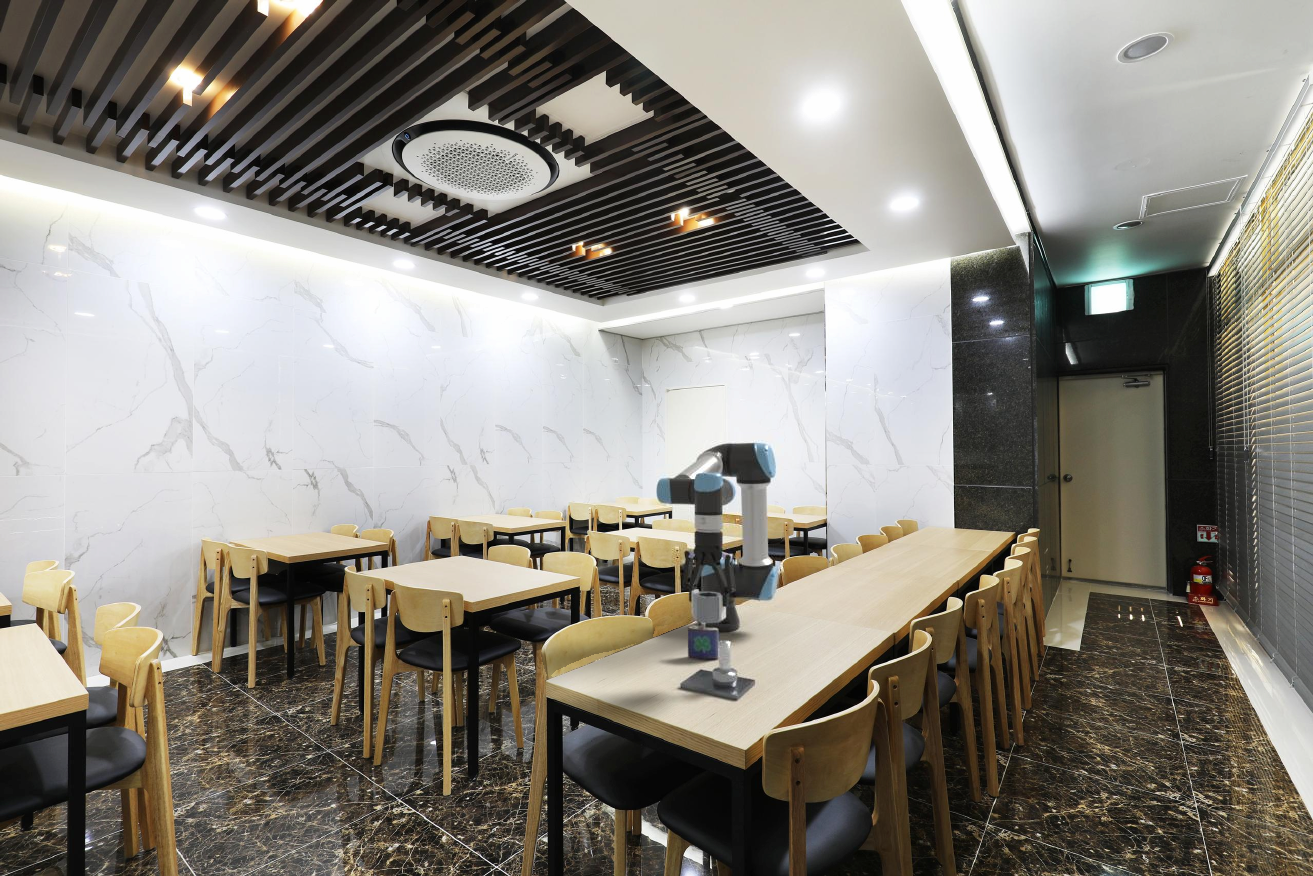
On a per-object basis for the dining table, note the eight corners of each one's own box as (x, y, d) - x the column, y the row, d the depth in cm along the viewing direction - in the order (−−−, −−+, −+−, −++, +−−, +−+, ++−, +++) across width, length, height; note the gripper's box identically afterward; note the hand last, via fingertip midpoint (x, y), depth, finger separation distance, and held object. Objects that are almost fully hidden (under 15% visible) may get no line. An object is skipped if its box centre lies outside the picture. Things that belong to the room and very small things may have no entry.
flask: (719, 657, 184) (718, 621, 184) (717, 661, 181) (717, 624, 181) (688, 655, 186) (688, 620, 186) (687, 659, 183) (686, 622, 183)
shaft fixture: (700, 673, 171) (700, 630, 171) (755, 684, 163) (754, 638, 163) (680, 688, 160) (680, 641, 161) (737, 700, 152) (737, 651, 153)
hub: (702, 614, 169) (702, 590, 169) (726, 618, 165) (726, 593, 165) (689, 620, 163) (689, 595, 163) (714, 624, 159) (714, 599, 159)
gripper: (668, 529, 167) (668, 614, 166) (737, 534, 156) (737, 625, 155) (682, 526, 173) (682, 608, 173) (749, 531, 163) (749, 618, 162)
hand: (708, 616), depth 164 cm, fingers closed on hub, 7 cm apart
